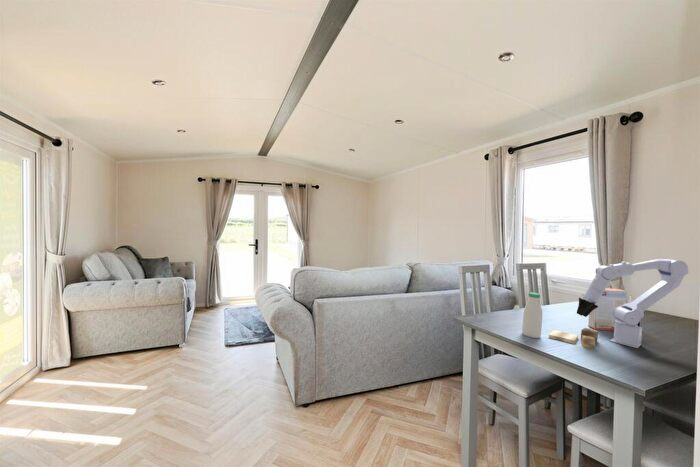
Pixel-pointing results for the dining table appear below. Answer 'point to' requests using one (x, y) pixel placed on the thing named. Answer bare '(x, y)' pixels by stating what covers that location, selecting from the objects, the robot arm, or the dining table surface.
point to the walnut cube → (589, 333)
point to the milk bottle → (532, 317)
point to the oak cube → (588, 342)
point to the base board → (563, 336)
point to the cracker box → (606, 309)
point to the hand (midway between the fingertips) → (581, 315)
